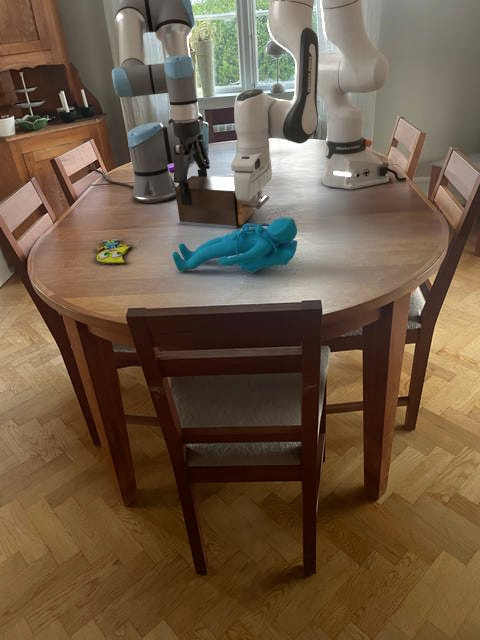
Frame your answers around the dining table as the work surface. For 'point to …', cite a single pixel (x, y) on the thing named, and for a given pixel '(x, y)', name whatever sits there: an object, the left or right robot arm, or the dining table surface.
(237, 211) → the drawer
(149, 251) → the dining table surface
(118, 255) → the toy
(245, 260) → the toy
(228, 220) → the cabinet
